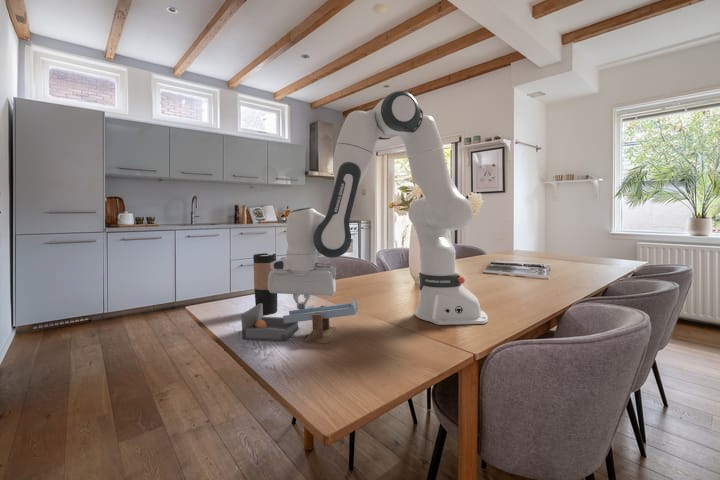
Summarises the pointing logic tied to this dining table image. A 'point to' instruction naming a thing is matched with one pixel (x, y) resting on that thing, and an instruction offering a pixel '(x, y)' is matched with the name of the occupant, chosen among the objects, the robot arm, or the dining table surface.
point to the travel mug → (264, 283)
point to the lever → (321, 312)
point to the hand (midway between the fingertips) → (302, 308)
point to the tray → (274, 326)
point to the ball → (260, 324)
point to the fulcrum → (320, 330)
